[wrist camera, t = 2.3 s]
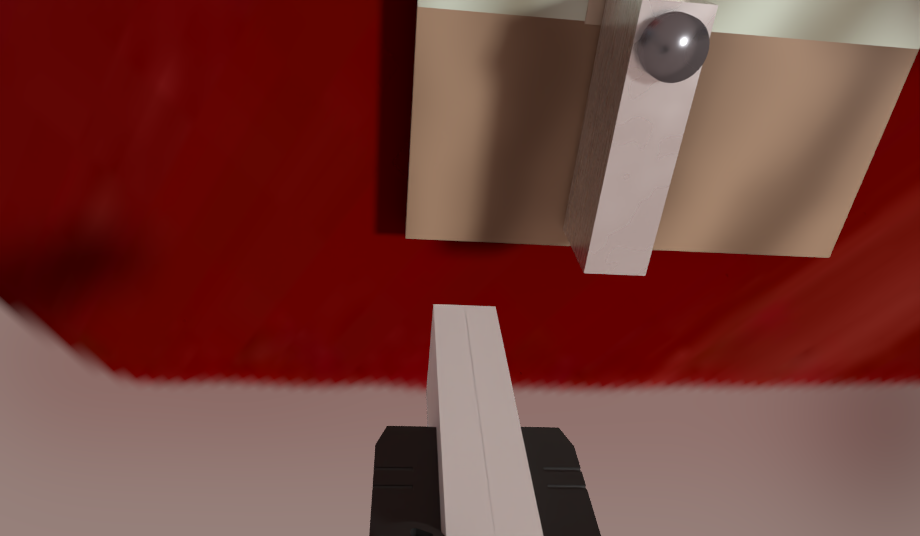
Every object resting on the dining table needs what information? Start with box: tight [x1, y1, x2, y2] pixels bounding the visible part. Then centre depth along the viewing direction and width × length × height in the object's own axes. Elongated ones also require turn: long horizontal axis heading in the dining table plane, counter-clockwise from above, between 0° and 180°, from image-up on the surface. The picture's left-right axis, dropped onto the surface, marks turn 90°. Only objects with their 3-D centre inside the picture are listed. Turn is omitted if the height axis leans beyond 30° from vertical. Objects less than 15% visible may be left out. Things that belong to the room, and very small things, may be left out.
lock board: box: [406, 0, 920, 258], centre depth 24 cm, size 21×20×6 cm
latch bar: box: [563, 0, 718, 276], centre depth 25 cm, size 10×3×5 cm, turn 175°
